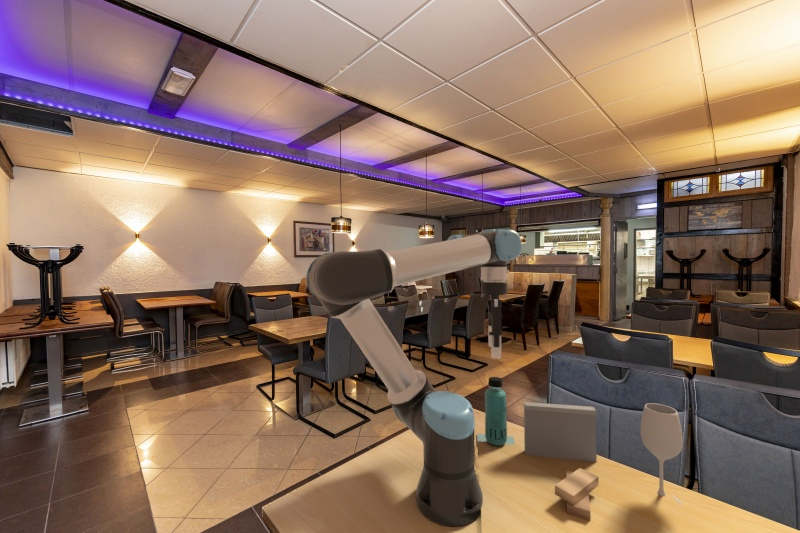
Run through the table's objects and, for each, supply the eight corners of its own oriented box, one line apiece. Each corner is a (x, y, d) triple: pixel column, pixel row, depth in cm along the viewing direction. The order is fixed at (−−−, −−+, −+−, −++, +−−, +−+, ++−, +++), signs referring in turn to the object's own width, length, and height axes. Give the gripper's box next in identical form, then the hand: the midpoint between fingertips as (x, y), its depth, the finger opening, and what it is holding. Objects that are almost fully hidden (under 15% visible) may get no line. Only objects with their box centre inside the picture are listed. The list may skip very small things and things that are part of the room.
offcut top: (580, 476, 79) (579, 467, 79) (598, 485, 76) (598, 476, 76) (554, 494, 73) (554, 485, 73) (573, 505, 70) (573, 495, 70)
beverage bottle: (486, 449, 96) (485, 381, 96) (483, 438, 102) (482, 374, 102) (509, 451, 95) (508, 382, 95) (505, 439, 101) (504, 374, 101)
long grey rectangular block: (525, 459, 92) (525, 405, 92) (524, 454, 94) (523, 401, 94) (596, 467, 88) (596, 410, 88) (593, 461, 90) (593, 406, 90)
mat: (478, 454, 95) (478, 452, 95) (477, 434, 105) (477, 433, 105) (518, 458, 92) (518, 456, 92) (513, 438, 103) (513, 436, 103)
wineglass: (691, 513, 71) (690, 417, 71) (651, 509, 73) (651, 414, 73) (670, 490, 79) (669, 403, 79) (634, 486, 80) (634, 400, 80)
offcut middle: (566, 478, 82) (566, 470, 82) (587, 483, 80) (586, 475, 80) (566, 513, 70) (566, 504, 70) (590, 520, 68) (590, 511, 68)
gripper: (512, 283, 86) (512, 364, 86) (503, 279, 110) (503, 342, 110) (482, 283, 87) (483, 363, 87) (480, 279, 111) (480, 341, 112)
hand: (494, 352), depth 99 cm, fingers open, 13 cm apart
